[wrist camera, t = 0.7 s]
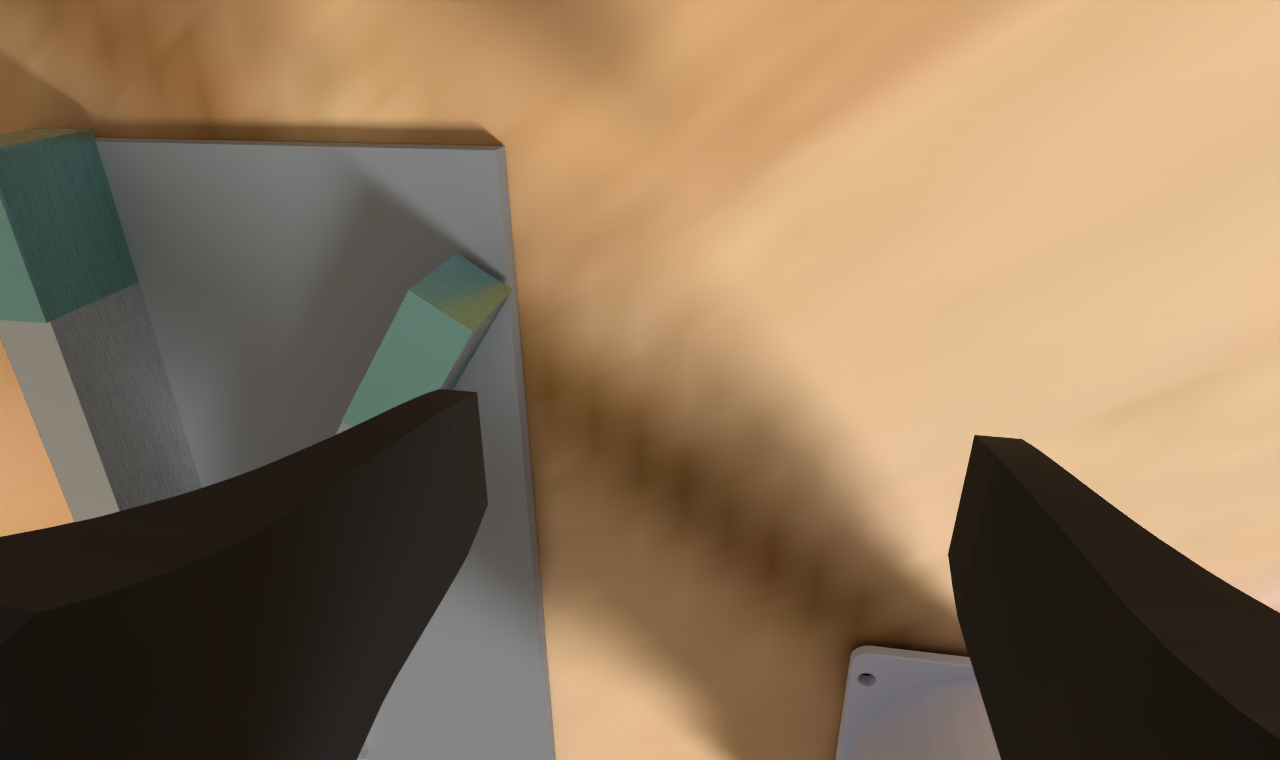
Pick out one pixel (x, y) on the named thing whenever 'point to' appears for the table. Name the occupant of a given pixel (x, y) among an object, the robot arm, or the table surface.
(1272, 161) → the table surface
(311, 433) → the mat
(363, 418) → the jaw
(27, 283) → the base
